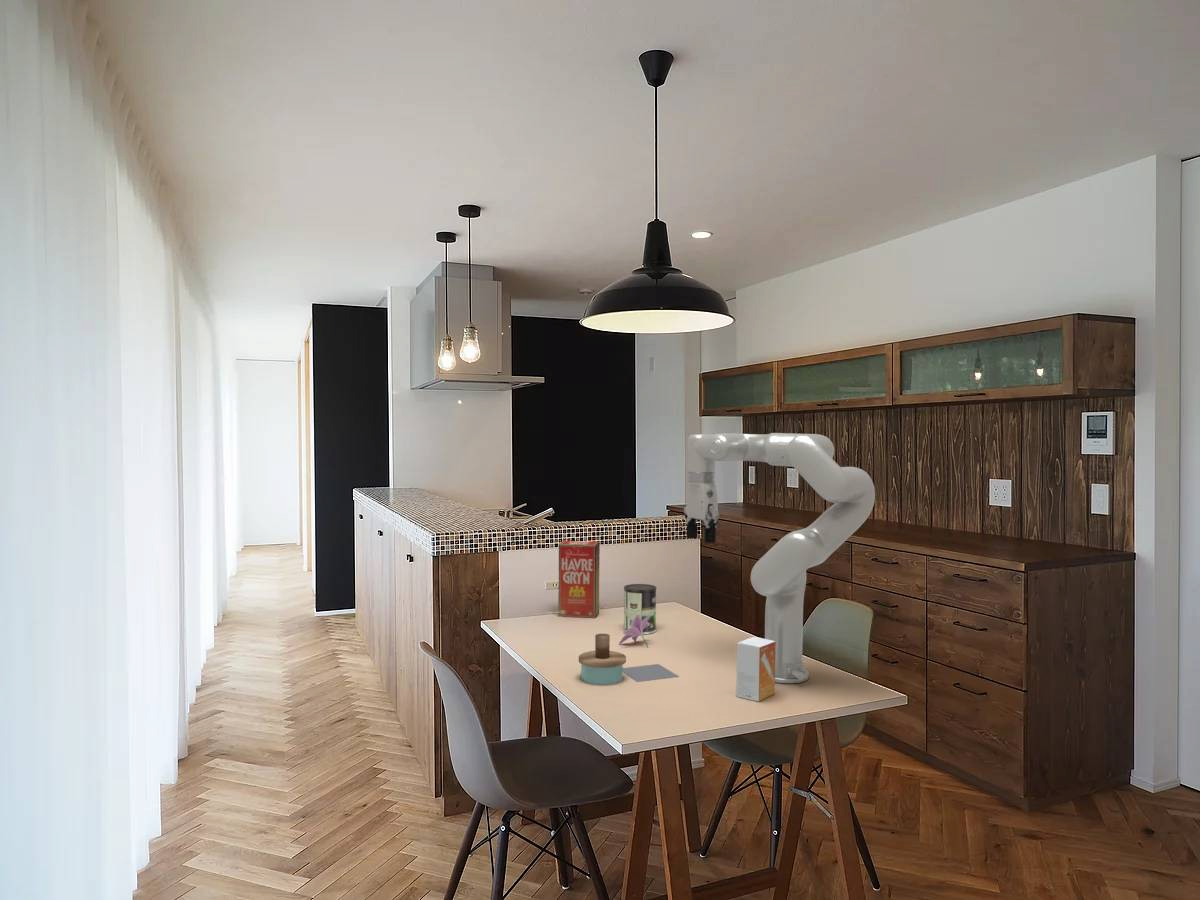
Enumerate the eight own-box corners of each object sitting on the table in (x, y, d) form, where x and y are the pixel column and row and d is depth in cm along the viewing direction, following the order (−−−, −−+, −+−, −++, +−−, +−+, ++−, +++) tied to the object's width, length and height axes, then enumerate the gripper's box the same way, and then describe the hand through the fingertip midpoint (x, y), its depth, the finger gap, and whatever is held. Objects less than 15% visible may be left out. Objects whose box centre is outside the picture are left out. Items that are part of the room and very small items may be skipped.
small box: (759, 702, 187) (759, 647, 187) (735, 696, 191) (736, 642, 191) (775, 694, 193) (776, 640, 193) (752, 688, 197) (753, 636, 197)
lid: (633, 664, 199) (633, 638, 199) (589, 669, 195) (589, 643, 195) (614, 652, 210) (614, 627, 210) (571, 657, 206) (572, 631, 206)
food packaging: (557, 616, 273) (557, 543, 272) (562, 610, 282) (562, 540, 281) (596, 618, 271) (596, 544, 270) (599, 612, 280) (600, 541, 280)
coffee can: (655, 627, 259) (655, 583, 259) (656, 635, 249) (657, 589, 249) (623, 626, 260) (623, 583, 259) (623, 634, 249) (624, 589, 249)
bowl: (628, 684, 200) (628, 664, 200) (590, 688, 196) (591, 668, 196) (612, 672, 209) (612, 653, 209) (576, 676, 206) (576, 657, 205)
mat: (679, 678, 205) (679, 676, 204) (637, 684, 200) (637, 681, 200) (658, 666, 216) (658, 663, 216) (617, 670, 211) (617, 668, 211)
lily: (656, 643, 243) (643, 614, 246) (669, 637, 233) (655, 606, 235) (622, 659, 239) (609, 629, 241) (633, 654, 228) (619, 622, 231)
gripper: (729, 480, 215) (729, 543, 215) (697, 476, 231) (696, 536, 231) (705, 480, 212) (705, 544, 212) (674, 477, 228) (673, 537, 228)
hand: (700, 540), depth 222 cm, fingers open, 9 cm apart
